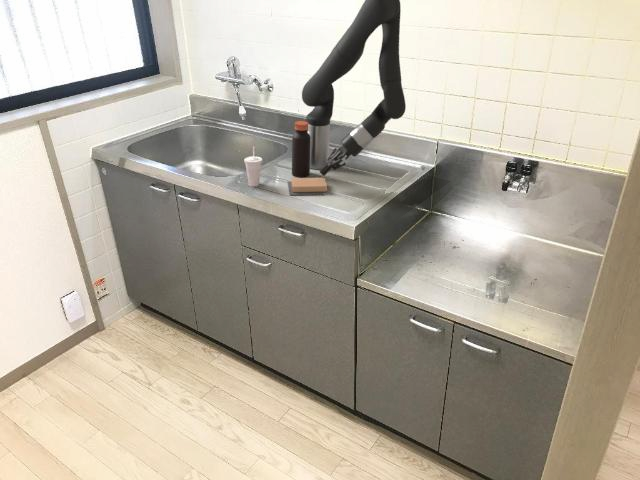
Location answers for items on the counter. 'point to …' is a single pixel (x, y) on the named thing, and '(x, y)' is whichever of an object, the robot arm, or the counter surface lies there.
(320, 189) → the tile
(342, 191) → the counter surface
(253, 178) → the smoothie
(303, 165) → the bottle
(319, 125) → the robot arm
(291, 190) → the mat
